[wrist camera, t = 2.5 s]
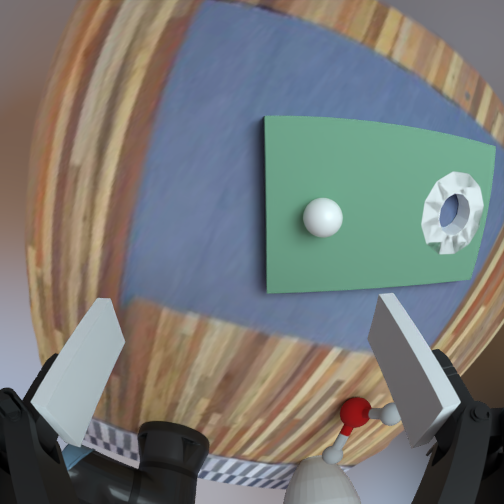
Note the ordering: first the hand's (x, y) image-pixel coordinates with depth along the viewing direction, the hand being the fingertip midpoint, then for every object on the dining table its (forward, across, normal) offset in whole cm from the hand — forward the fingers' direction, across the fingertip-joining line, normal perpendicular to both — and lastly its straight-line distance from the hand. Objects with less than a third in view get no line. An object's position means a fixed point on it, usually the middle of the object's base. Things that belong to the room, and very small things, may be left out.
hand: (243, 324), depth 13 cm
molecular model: (+19, +17, -34) cm, 43 cm away
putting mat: (+19, +16, 0) cm, 24 cm away
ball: (+14, +7, 0) cm, 16 cm away
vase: (+19, +14, -62) cm, 66 cm away
